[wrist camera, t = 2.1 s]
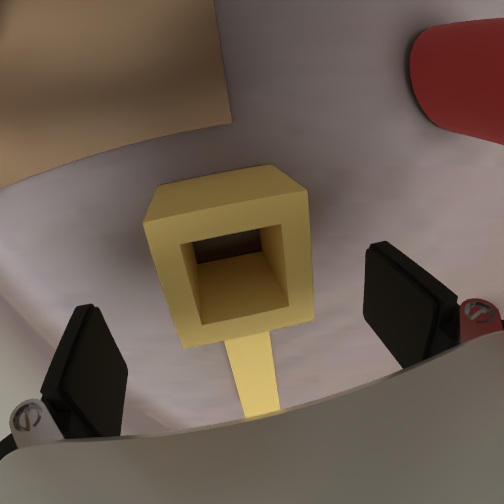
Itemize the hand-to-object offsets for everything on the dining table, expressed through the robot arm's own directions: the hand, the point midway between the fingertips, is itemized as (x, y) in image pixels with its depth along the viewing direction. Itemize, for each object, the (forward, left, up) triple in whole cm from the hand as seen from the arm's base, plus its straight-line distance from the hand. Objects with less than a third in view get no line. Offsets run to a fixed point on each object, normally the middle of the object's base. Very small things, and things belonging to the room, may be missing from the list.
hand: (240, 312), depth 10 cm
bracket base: (-17, -6, -6) cm, 19 cm away
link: (+5, 0, -6) cm, 8 cm away
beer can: (-8, +14, -6) cm, 17 cm away
